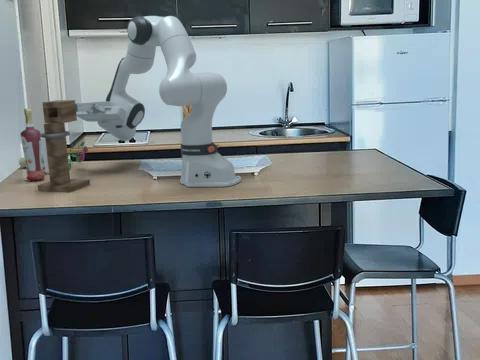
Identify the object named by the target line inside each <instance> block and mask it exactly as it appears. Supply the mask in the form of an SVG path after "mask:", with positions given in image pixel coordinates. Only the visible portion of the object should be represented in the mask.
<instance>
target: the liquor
mask: <svg viewBox="0 0 480 360" xmlns="http://www.w3.org/2000/svg"><path fill="white" fill-rule="evenodd" d="M32 111H33V110H32V108H23V112H24V113H23V114H24V117H25V129H24V130H22V131H21V132H20V138H21V146H22V150H23V156H24V157H25V163H26V168H25V169H26V179H27V180H28V181H29V182H39V181H42V180H43V179H44V178H45V174H44V168H43V162H42V151H41V136H40V134H41V131H40V130H38V129H37V128H35V127H34V122H33V121H34V120H33V118H32V115H33V113H32Z"/></svg>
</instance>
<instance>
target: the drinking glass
mask: <svg viewBox="0 0 480 360" xmlns="http://www.w3.org/2000/svg"><path fill="white" fill-rule="evenodd" d="M41 152H42V155H43V160H44V162H43V164H44V171H45V173H46V174H47V175H49V167H48V159H47V150H46V141H45V138H42V137H41Z"/></svg>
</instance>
